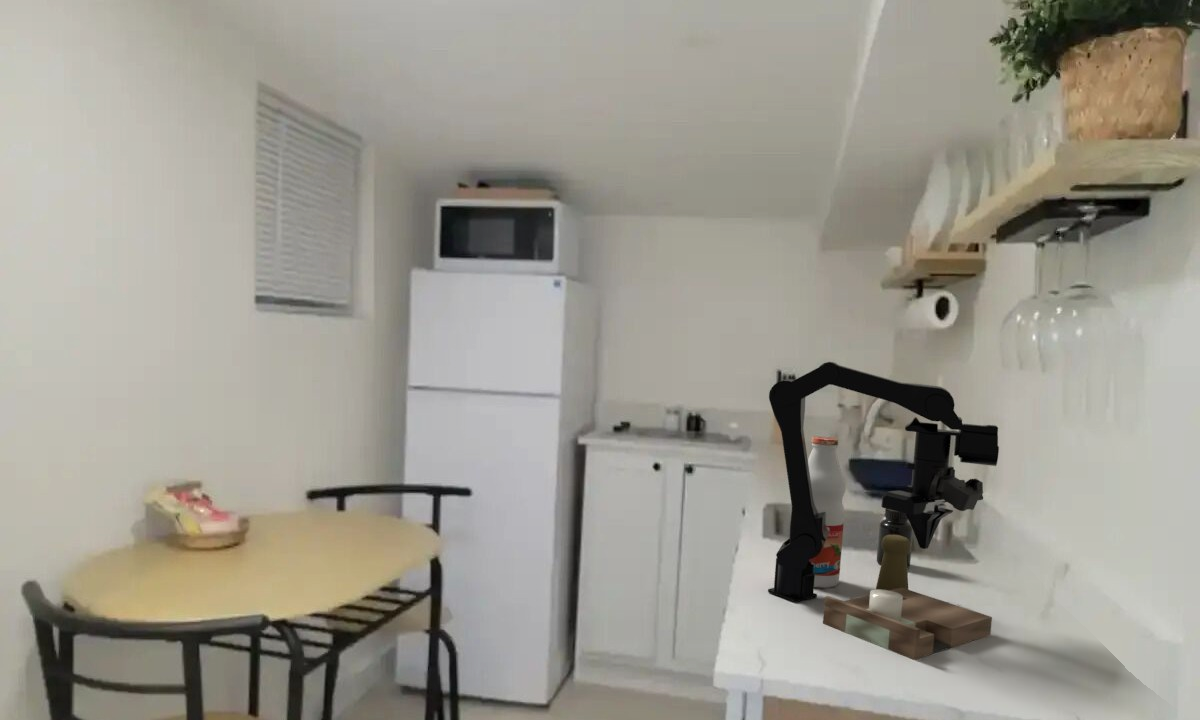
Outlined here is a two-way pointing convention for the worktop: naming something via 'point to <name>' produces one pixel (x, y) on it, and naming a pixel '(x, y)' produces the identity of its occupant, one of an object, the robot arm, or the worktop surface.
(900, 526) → the supplement bottle
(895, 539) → the cork
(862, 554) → the worktop surface
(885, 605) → the white short cylinder
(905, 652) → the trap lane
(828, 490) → the fruit juice
